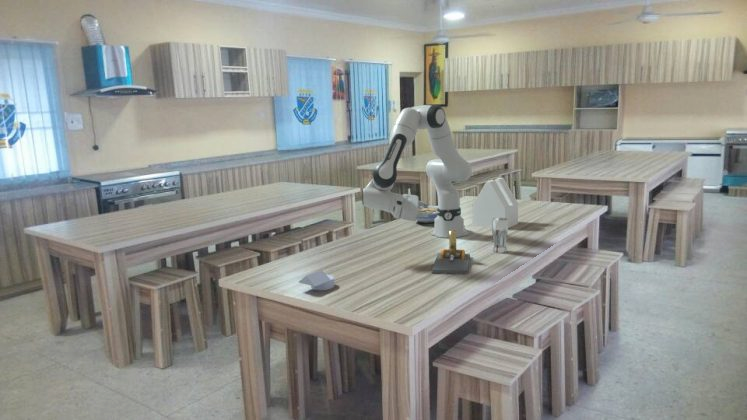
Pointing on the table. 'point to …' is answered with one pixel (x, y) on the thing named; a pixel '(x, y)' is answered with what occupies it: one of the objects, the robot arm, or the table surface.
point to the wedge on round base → (319, 280)
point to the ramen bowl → (431, 211)
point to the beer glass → (499, 234)
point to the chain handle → (452, 246)
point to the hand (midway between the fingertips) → (428, 210)
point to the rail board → (451, 263)
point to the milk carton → (495, 204)
